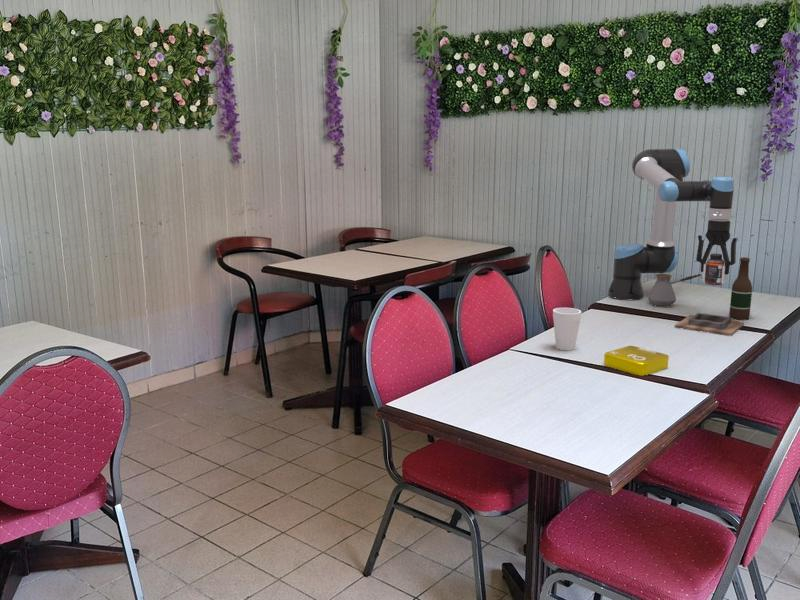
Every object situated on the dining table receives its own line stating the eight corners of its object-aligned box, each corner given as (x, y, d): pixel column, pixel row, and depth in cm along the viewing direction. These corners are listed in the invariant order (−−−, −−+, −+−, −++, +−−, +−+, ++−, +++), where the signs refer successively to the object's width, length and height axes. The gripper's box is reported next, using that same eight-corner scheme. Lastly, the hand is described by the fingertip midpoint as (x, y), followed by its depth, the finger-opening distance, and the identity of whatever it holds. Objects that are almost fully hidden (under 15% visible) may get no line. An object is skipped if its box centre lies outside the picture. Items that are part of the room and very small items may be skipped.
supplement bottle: (723, 286, 277) (726, 255, 274) (706, 285, 278) (709, 255, 275) (720, 282, 282) (723, 253, 280) (703, 282, 283) (706, 252, 281)
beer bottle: (753, 320, 292) (759, 259, 287) (733, 320, 292) (739, 259, 287) (744, 315, 300) (750, 256, 294) (725, 315, 300) (730, 256, 294)
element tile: (670, 368, 235) (671, 353, 234) (642, 378, 226) (643, 362, 225) (629, 357, 246) (630, 343, 245) (601, 366, 237) (601, 351, 236)
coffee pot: (643, 305, 317) (645, 270, 314) (652, 300, 326) (654, 266, 323) (695, 312, 305) (698, 276, 301) (703, 307, 314) (706, 272, 310)
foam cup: (579, 352, 250) (581, 314, 247) (551, 351, 252) (553, 313, 249) (578, 344, 259) (580, 308, 256) (551, 343, 261) (553, 307, 258)
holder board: (674, 327, 282) (675, 319, 281) (689, 317, 297) (690, 309, 297) (731, 336, 270) (732, 327, 269) (744, 324, 286) (744, 317, 285)
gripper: (689, 219, 277) (684, 280, 282) (744, 222, 266) (738, 286, 271) (695, 217, 283) (690, 277, 288) (749, 220, 272) (743, 283, 277)
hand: (713, 281), depth 280 cm, fingers closed on supplement bottle, 6 cm apart
